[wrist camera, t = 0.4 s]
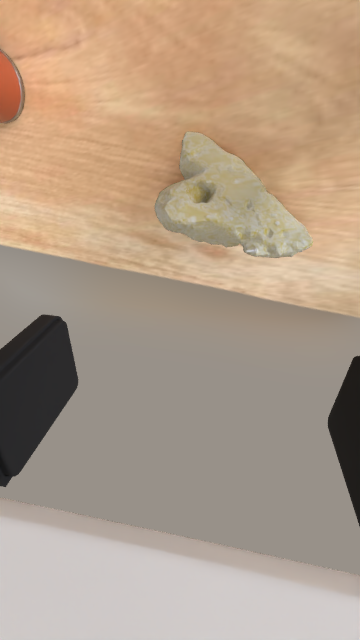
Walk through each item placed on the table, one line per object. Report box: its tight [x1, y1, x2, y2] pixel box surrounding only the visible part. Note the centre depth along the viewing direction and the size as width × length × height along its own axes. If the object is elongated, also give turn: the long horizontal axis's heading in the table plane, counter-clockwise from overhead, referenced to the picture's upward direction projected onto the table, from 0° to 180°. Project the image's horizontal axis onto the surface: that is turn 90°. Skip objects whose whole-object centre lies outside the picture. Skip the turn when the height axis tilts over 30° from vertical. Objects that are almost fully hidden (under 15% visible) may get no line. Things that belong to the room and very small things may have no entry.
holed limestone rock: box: [155, 131, 313, 258], centre depth 33 cm, size 15×7×15 cm
